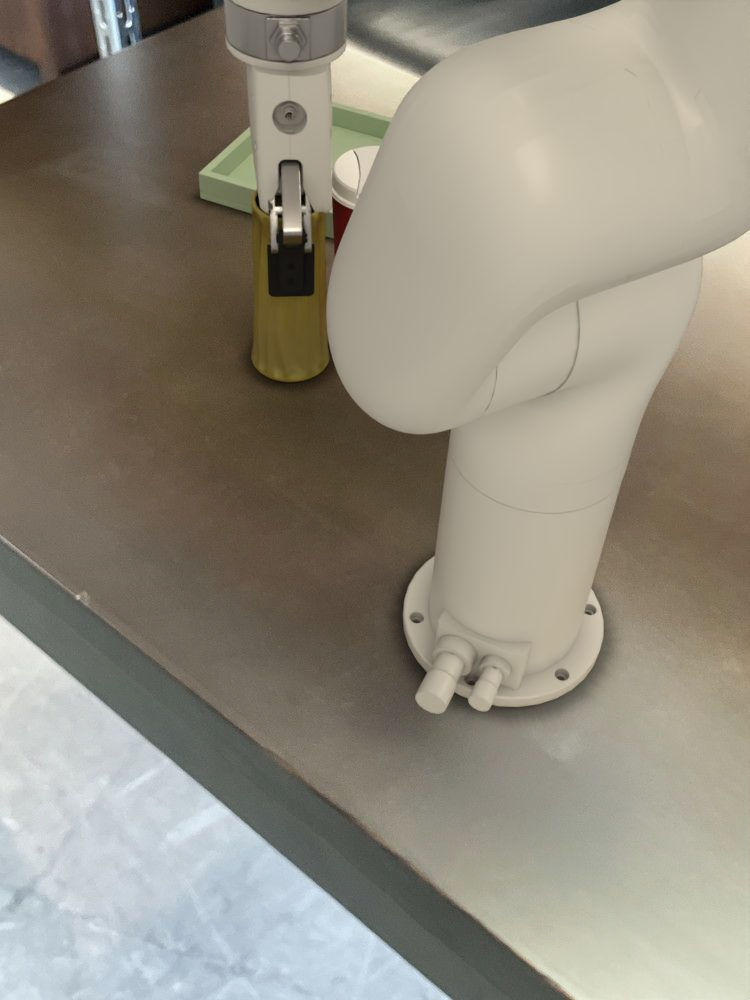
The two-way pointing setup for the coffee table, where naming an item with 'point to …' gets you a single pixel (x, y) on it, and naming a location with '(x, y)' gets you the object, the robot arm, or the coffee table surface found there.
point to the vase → (288, 308)
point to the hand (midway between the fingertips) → (289, 260)
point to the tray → (234, 166)
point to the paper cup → (349, 186)
